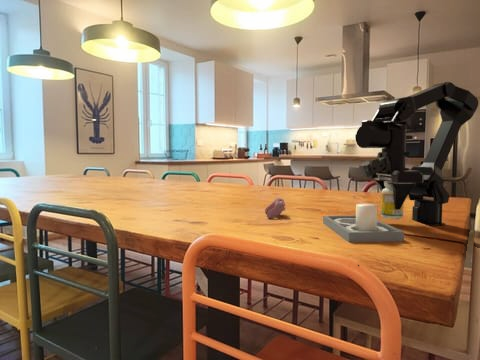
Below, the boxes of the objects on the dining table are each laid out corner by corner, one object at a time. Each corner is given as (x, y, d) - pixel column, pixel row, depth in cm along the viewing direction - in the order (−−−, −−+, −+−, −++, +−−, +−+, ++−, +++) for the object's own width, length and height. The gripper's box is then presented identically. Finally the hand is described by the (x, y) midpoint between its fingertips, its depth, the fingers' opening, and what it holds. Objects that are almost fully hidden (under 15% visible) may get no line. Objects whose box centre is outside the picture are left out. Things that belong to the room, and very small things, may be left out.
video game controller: (279, 224, 105) (289, 203, 104) (265, 217, 105) (276, 197, 104) (275, 218, 115) (285, 199, 114) (263, 212, 115) (273, 193, 114)
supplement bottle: (399, 220, 87) (400, 182, 86) (377, 217, 90) (378, 181, 89) (405, 217, 91) (406, 180, 90) (384, 214, 94) (385, 180, 93)
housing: (366, 226, 94) (366, 215, 93) (403, 245, 74) (404, 231, 73) (323, 226, 93) (323, 215, 93) (348, 246, 73) (348, 232, 73)
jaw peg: (371, 232, 81) (372, 203, 81) (380, 237, 77) (381, 206, 76) (352, 233, 81) (353, 203, 80) (360, 238, 76) (360, 206, 76)
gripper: (350, 148, 98) (349, 203, 99) (378, 147, 79) (377, 214, 81) (388, 148, 98) (387, 202, 100) (425, 147, 80) (423, 213, 81)
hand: (392, 207), depth 90 cm, fingers closed on supplement bottle, 5 cm apart
